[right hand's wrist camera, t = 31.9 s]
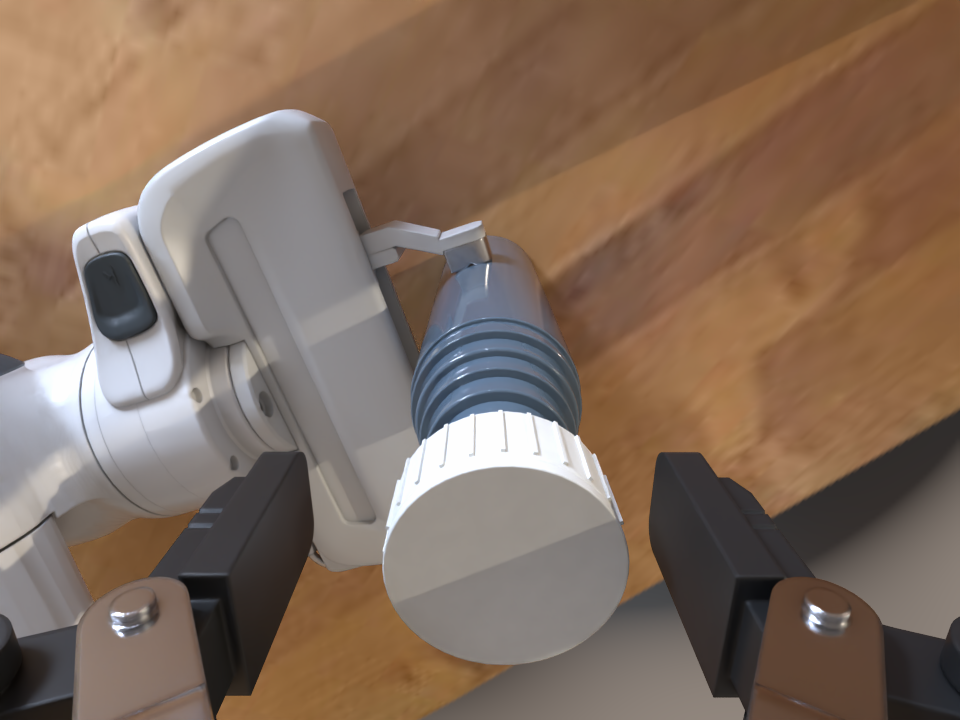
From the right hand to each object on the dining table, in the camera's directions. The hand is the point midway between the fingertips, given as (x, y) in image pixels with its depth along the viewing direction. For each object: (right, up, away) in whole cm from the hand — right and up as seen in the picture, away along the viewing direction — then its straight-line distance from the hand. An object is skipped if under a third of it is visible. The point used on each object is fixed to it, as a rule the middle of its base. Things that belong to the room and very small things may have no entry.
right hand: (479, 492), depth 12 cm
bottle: (0, +7, +19) cm, 20 cm away
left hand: (+1, +5, +13) cm, 14 cm away
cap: (0, -1, -1) cm, 1 cm away
